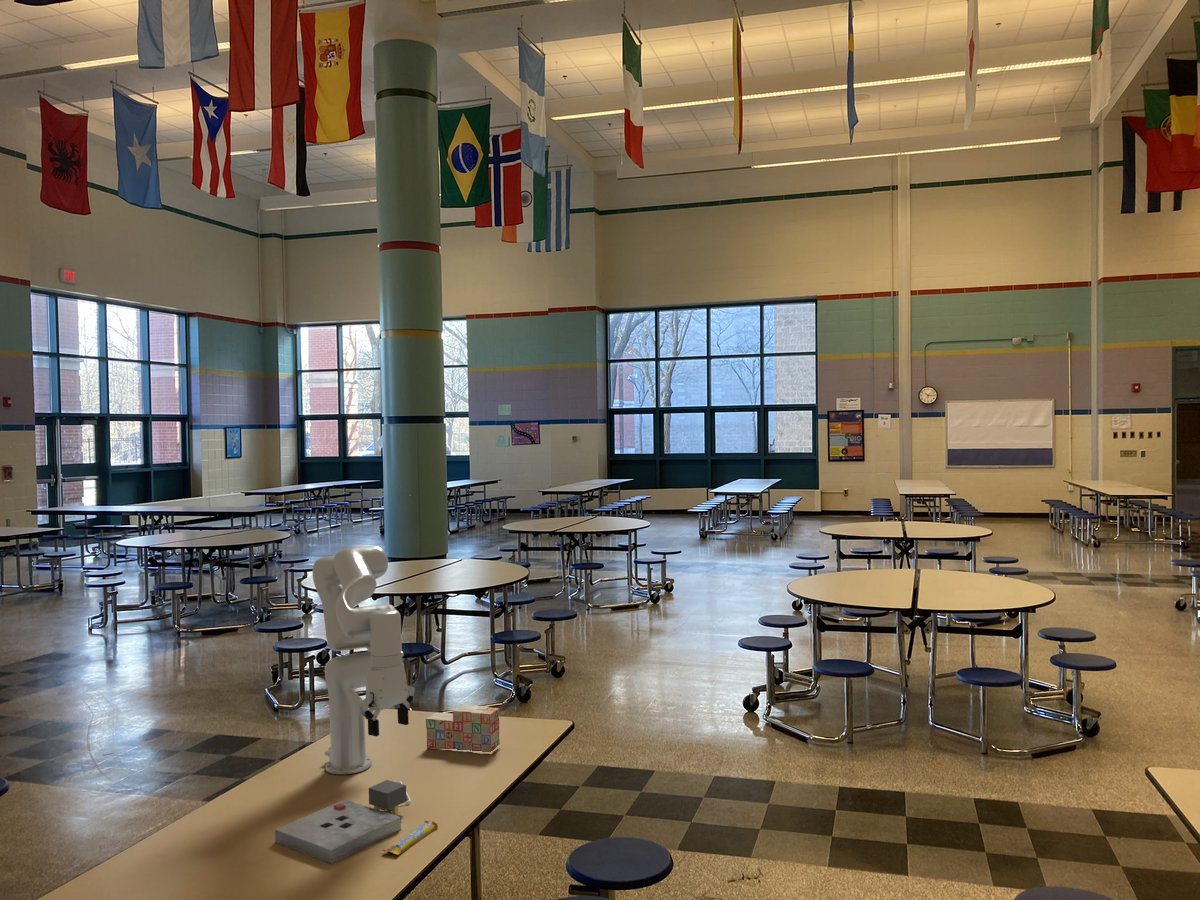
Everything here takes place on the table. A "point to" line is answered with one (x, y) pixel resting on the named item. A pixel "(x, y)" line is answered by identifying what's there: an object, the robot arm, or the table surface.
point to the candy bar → (412, 838)
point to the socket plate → (337, 830)
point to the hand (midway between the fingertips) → (388, 729)
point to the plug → (387, 795)
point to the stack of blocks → (464, 729)
